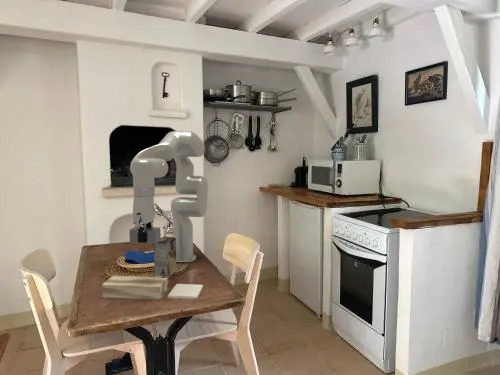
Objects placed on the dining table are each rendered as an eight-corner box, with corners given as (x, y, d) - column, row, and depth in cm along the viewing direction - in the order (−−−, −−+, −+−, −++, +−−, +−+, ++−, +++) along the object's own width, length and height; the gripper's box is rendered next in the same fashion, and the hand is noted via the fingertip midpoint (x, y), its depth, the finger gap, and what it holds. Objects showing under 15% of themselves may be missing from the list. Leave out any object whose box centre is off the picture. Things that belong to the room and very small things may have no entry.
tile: (176, 286, 137) (176, 283, 137) (203, 287, 136) (203, 284, 136) (168, 297, 126) (167, 295, 126) (196, 299, 125) (196, 296, 125)
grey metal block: (135, 239, 131) (135, 226, 130) (160, 240, 130) (160, 227, 129) (129, 242, 126) (129, 229, 125) (155, 243, 125) (155, 230, 124)
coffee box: (163, 270, 154) (163, 236, 152) (176, 271, 153) (176, 237, 151) (154, 278, 145) (153, 241, 143) (168, 279, 144) (167, 242, 142)
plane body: (114, 287, 135) (113, 275, 135) (167, 289, 133) (167, 277, 133) (102, 297, 126) (102, 284, 126) (159, 300, 124) (159, 287, 124)
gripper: (143, 189, 134) (145, 234, 136) (123, 195, 117) (125, 246, 120) (162, 190, 133) (163, 234, 136) (144, 196, 117) (145, 247, 119)
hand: (145, 239), depth 128 cm, fingers closed on grey metal block, 5 cm apart
